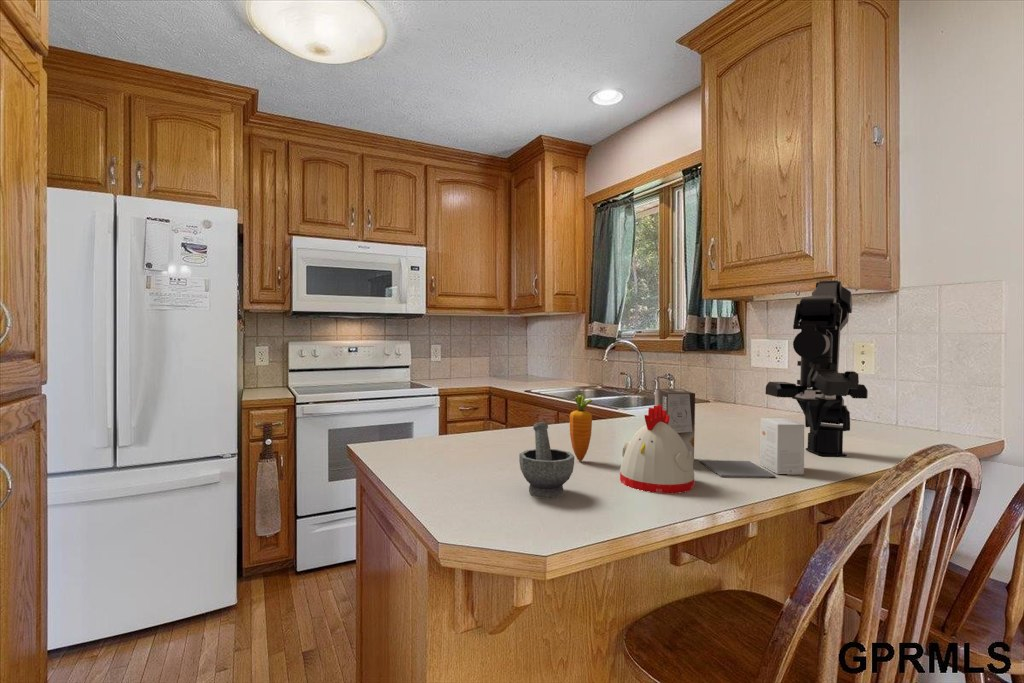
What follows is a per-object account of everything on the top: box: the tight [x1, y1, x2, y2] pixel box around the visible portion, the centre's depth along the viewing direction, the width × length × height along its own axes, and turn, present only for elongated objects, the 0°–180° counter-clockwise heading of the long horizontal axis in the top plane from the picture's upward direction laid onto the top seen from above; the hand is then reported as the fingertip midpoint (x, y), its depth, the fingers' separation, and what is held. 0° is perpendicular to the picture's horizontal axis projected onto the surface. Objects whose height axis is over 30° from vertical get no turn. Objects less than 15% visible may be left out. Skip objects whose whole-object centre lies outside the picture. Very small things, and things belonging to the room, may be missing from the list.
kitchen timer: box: [619, 405, 695, 494], centre depth 101 cm, size 14×14×15 cm
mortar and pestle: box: [518, 421, 575, 499], centre depth 94 cm, size 11×9×12 cm
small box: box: [759, 417, 805, 476], centre depth 111 cm, size 8×6×10 cm
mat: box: [699, 459, 777, 478], centre depth 111 cm, size 11×12×1 cm
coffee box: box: [654, 388, 696, 467], centre depth 117 cm, size 9×6×16 cm
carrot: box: [569, 394, 593, 462], centre depth 116 cm, size 5×5×15 cm
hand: (814, 430), depth 111 cm, fingers closed
